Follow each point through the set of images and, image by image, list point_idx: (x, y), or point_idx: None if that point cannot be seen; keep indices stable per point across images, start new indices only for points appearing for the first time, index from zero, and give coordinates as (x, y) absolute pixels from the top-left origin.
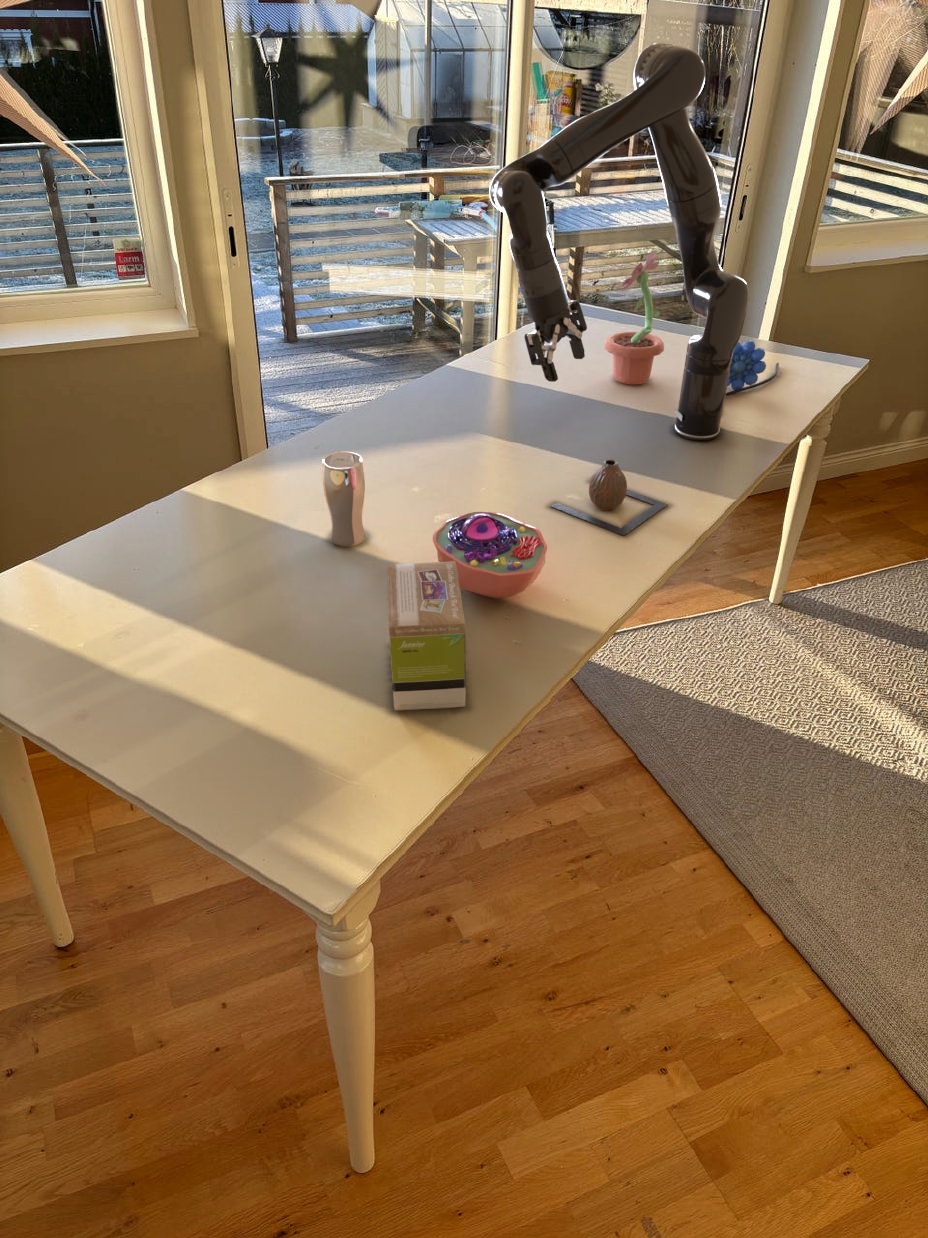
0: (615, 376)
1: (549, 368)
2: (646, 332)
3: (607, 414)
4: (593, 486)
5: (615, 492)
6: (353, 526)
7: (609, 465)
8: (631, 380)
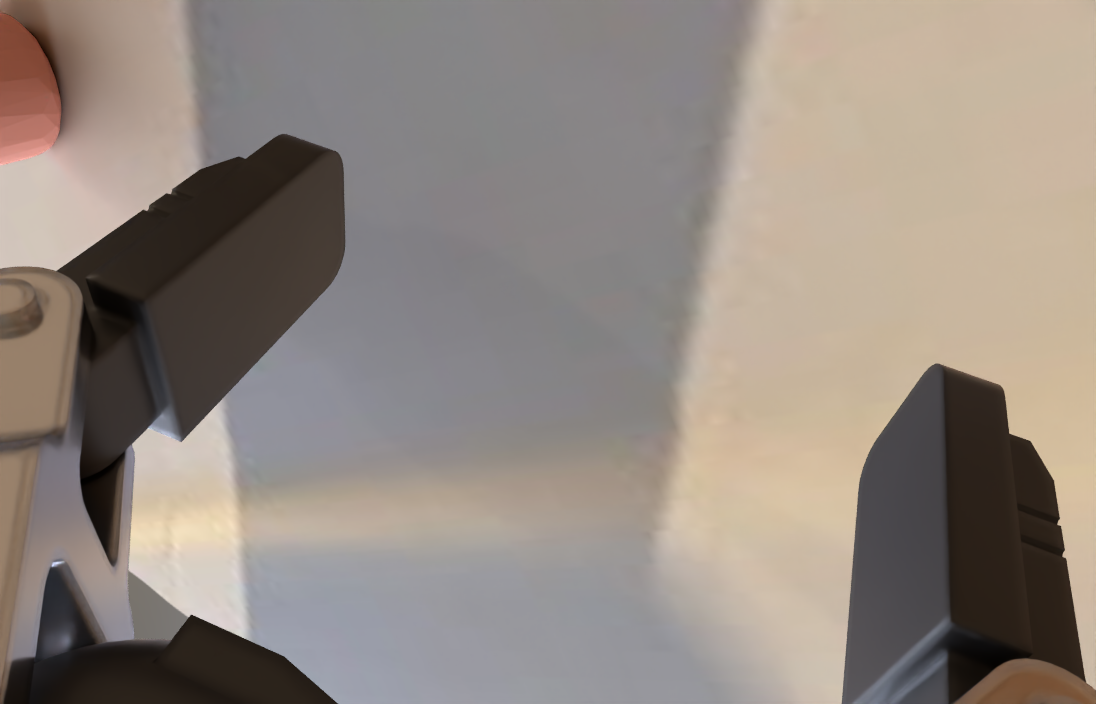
0: (46, 139)
1: (1037, 605)
2: None
3: (271, 74)
4: None
5: None
6: None
7: None
8: (36, 67)
